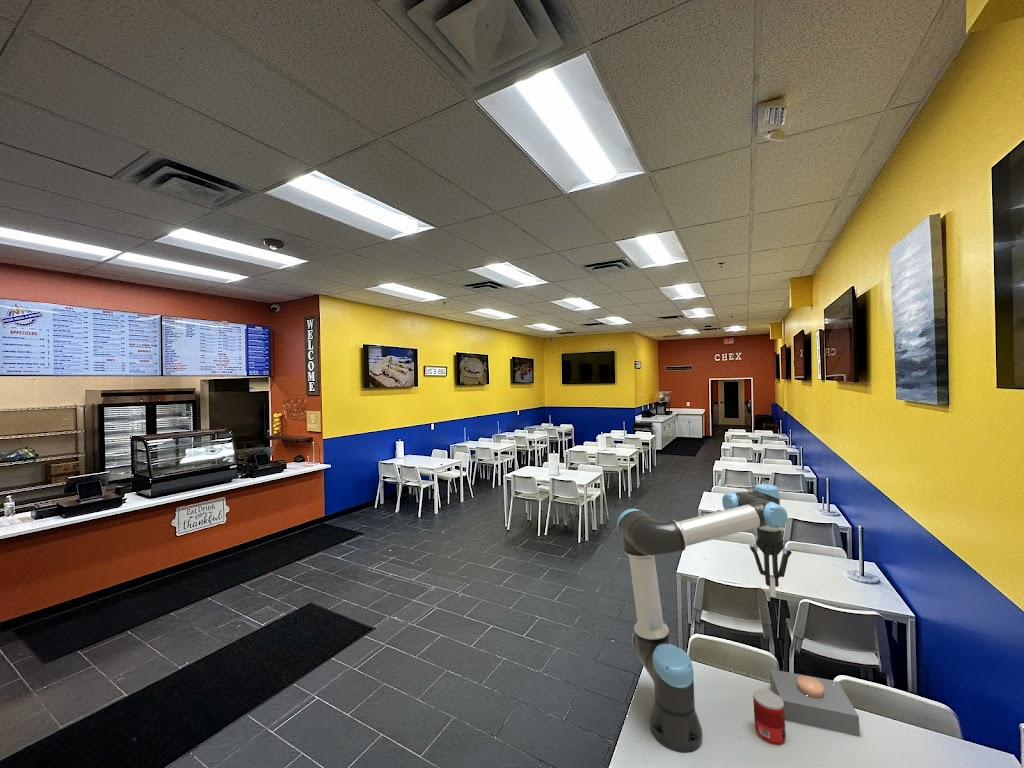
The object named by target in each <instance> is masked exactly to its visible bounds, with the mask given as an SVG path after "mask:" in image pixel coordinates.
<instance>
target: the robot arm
mask: <svg viewBox="0 0 1024 768" xmlns="http://www.w3.org/2000/svg"><path fill="white" fill-rule="evenodd" d="M779 491H780V490H779V488H778V486H776V485H773V484H767V483H757V484H755V485H754V489H753V490H751V491H731V492H726V493H724V494H723V496H722V498H721V503H722V506H723V509H724V510H719V511H716V512H712V513H707V514H704V515H700V516H695V517H692V518H688V519H683V520H680V521H677V520H674V519H670V520H665V521H664V520H656V519H654V518H653V517H652V516H650V515H648V513H646V512H645V511H643V510H640V509H636V508H628V509H626V510H624V511H622V513H621V514H620V515H619V516H618V518H617V521H616V529H617V532H618V534H619V535H620V537H621V539H622V545H623V551H624V553H625V554H626V555H627V556H628V559H629V567H630V575H631V582H632V589H633V590H632V591H633V596H634V605H635V612H636V620H637V621H636V623H635V624H634V626H633V632H632V635H631V644H632V647H633V648H632V649H633V650H634V653H635V655H636V657H637V658H638V659H639V661H640V662H641V664H642V666H643V667H644V669H645V670H646V671H647V673H648V675H649V676H650V678H651V679H652V681H653V687H654V703H653V707H652V710H651V712H650V716H649V717H650V718H649V721H650V722H649V726H650V731H651V734H652V735H653V736H654V738H655V739H656V740H657V741H658V742H659V743H660V744H662V745H663V746H664V747H666V748H668V749H670V750H672V751H677V752H679V753H688V752H689V753H690V752H694V751H696V750H697V749H699V748H700V747H701V746H702V744H703V729H702V725H701V723H700V719H699V717H698V714H697V711H696V708H695V707H696V705H695V702H696V700H695V683H694V677H695V675H694V674H695V672H694V667H693V662H692V659H691V657H690V656H689V655H688V653H687V652H686V651H685V650H684V649H682V648H681V647H677V646H676V645H674V644H672V643H671V635H670V629H669V627H668V625H667V624H666V623H664V619H663V610H662V604H661V597H660V596H661V595H660V588H659V582H658V575H657V573H658V572H657V568H656V567H657V565H656V558H655V557H659V556H665V555H667V556H669V555H671V554H676V553H679V552H684V551H685V550H686V548H687V547H689V546H692V545H696V544H699V543H700V544H701V543H705V542H709V541H711V540H715V539H720V538H724V537H727V536H731V535H735V534H740V533H743V532H746V531H751V530H754V529H756V538H757V539H756V541H755V544H753V545H752V544H750V545H749V549H750V551H751V552H752V553H753V556H754V559H755V564H756V567H757V569H758V572H759V574H760V575H762V576H764V579H765V580H764V581H765V584H766V586H767V587H768V590H769V592H768V593H769V596H770V597H773V598H776V597H777V593H776V592H777V590H776V588H779V585H780V584H779V579H780V578H784V577H785V574H786V570H787V566H788V561H789V557H790V556H791V555H792V551H791V550H790V548H787V547H786V546H784V544H783V536H782V531H781V529H782V528H784V526H785V525H786V524H787V522H788V519H789V518H788V512H787V510H786V508H784V507H783V506H782V505H781V498H780V492H779ZM759 550H760V551H761V552H762V554H763V564H764V567H763V565H762V562H761V559H760V556H759V554H758V551H759ZM781 552H782V556H781V560H780V565H778V563H779V562H778V556H779V554H780V553H781ZM770 556H771V561H772V562H771V564H772V565H771V567H772V574H771V571H770V570H771V567H770ZM763 568H764V569H763Z"/></svg>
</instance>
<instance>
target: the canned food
mask: <svg viewBox="0 0 1024 768" xmlns="http://www.w3.org/2000/svg"><path fill="white" fill-rule="evenodd" d="M752 695H753V696H752V697H753V715H754V717H753V719H754V728H755V732H756V734H757V736H758V737H759V738H760V739H762V740H763V741H765V742H766V743H769V744H771V745H776V746H778V745H779V746H780V745H783V744H784V743H785V742H786V735H787V734H786V720H785V714H784V702H783V700H782V699H781V698H780V697H779V696H778V695H776V694H775V693H773V691H770V690H767V689H757V690H755V691H754V692H753V694H752Z"/></svg>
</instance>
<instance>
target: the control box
mask: <svg viewBox="0 0 1024 768" xmlns="http://www.w3.org/2000/svg"><path fill="white" fill-rule="evenodd" d="M802 675H804V674H800V673H794V672H788V671H782V670H777V669H772V668H770V669H769V677H770V687H771V692H773V693H775V694H776V695H778V696H779V697H780V698H781V699H782V700H783V702H784V714H785V722H791V723H796V724H800V725H805V726H810V727H815V728H819V729H823V730H827V731H833V732H838V733H843V734H847V735H852V736H854V737H855V736H856V737H861V734H860V733H861V731H860V716H859V715H858V713H857V711H856V709H855V708H854V705H853V704H852V702H851V700H850V699H849V697H848V696H847V694H846V692H845V690H844V689H843V687H842V685H841V683H840V682H839V680H838V681H837V680H832V679H827V678H826V679H825V678H821V677H817V676H811V675H809V676H810V677H813V678H815V679H817V680H818V681H820V682H821V683H822V684H823V687H824V696H823V697H821V698H814V697H811V696H806V694H804V693H803V692H801V691H800V690H799V688H798V683H797V678H798V677H799V676H802ZM804 676H806V674H805V675H804ZM834 681H835V682H834ZM833 684H834V685H833Z"/></svg>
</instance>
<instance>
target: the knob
mask: <svg viewBox="0 0 1024 768" xmlns="http://www.w3.org/2000/svg"><path fill="white" fill-rule="evenodd" d="M801 675H802V676H799V677H798V678H797V683H798V688H799V690H800V691H801V692H803V693H804V694H806V695H808V696H811V697H814V698H821V697H823V696H824V687H823V684H822V683H821V682H820V681H818V680H817V679H815V678H813V677H814V676H811V675H805V676H804V674H801ZM810 676H811V677H810Z"/></svg>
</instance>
